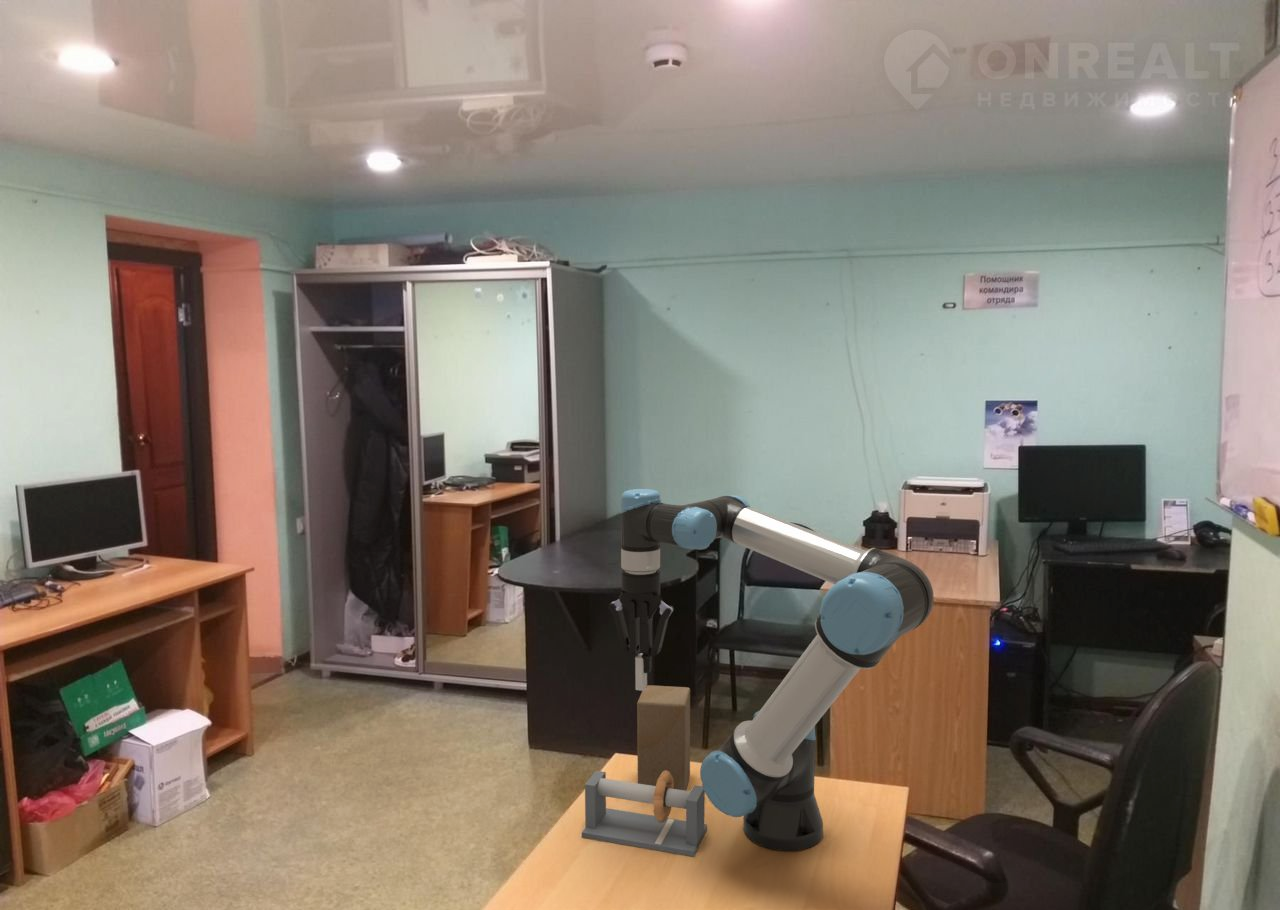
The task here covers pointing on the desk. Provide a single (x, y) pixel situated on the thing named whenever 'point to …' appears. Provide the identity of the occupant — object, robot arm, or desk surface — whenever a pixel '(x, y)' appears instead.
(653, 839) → the pipe stand
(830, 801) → the desk surface
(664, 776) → the o-ring
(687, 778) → the wooden block
